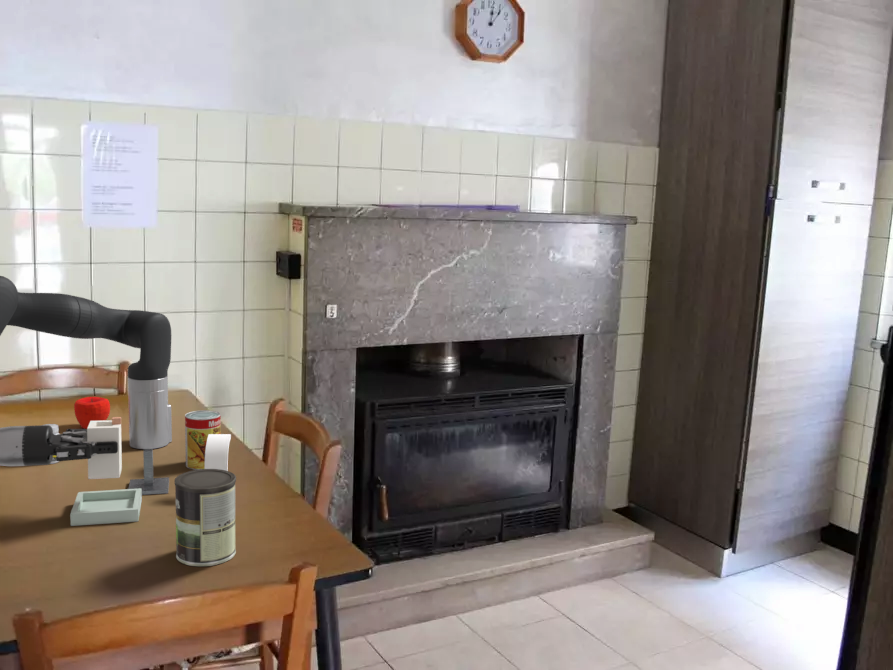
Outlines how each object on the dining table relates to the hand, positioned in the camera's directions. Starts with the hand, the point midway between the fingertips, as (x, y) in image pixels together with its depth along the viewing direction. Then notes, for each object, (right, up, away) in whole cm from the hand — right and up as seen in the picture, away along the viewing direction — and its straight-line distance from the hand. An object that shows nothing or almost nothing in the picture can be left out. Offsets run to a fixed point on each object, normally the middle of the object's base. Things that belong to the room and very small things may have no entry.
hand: (118, 442), depth 168 cm
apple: (-29, -4, +59) cm, 66 cm away
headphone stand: (+16, -13, +14) cm, 25 cm away
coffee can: (+21, -18, -16) cm, 32 cm away
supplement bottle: (-28, -8, +31) cm, 42 cm away
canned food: (+7, -9, +32) cm, 34 cm away
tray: (-3, -14, +2) cm, 14 cm away
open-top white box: (-3, -6, 0) cm, 7 cm away
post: (0, -12, +16) cm, 20 cm away
